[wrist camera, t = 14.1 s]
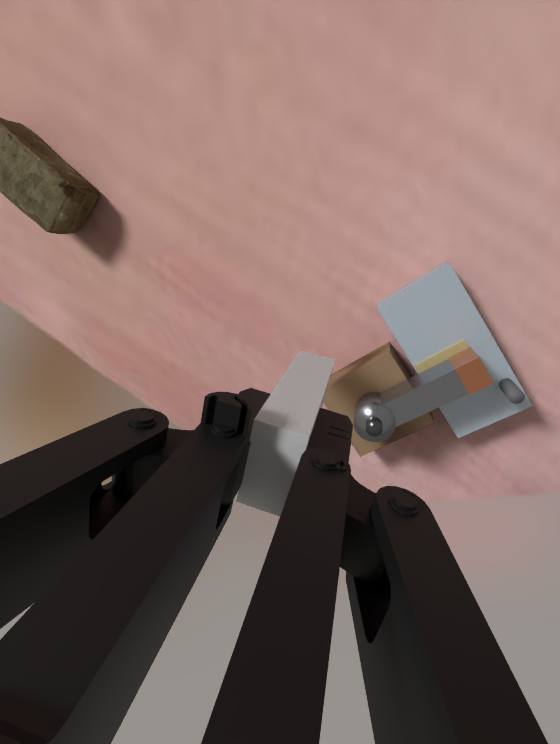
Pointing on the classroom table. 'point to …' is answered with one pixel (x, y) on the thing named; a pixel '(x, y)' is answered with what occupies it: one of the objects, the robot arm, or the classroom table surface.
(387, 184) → the classroom table surface
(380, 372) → the block
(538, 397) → the classroom table surface
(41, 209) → the stone block
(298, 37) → the classroom table surface
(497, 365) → the grey block with peg
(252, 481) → the robot arm
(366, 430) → the latch bar
